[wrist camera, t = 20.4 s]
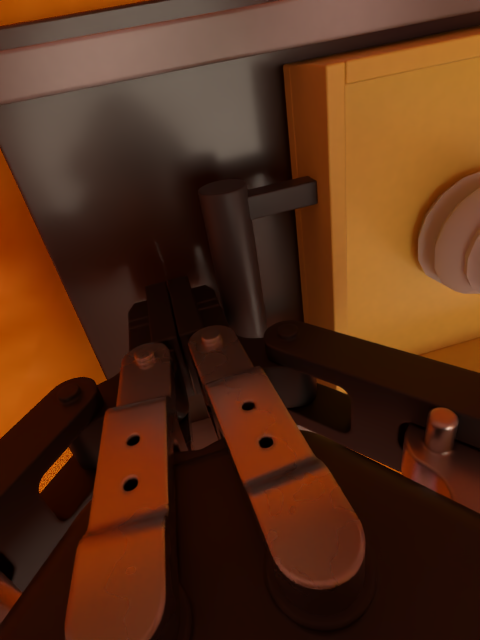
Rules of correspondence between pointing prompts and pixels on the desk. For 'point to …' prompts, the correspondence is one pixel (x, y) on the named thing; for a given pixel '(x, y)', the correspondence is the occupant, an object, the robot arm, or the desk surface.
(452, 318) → the tray
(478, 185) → the rook chess piece
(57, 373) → the desk surface
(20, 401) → the desk surface
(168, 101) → the base
